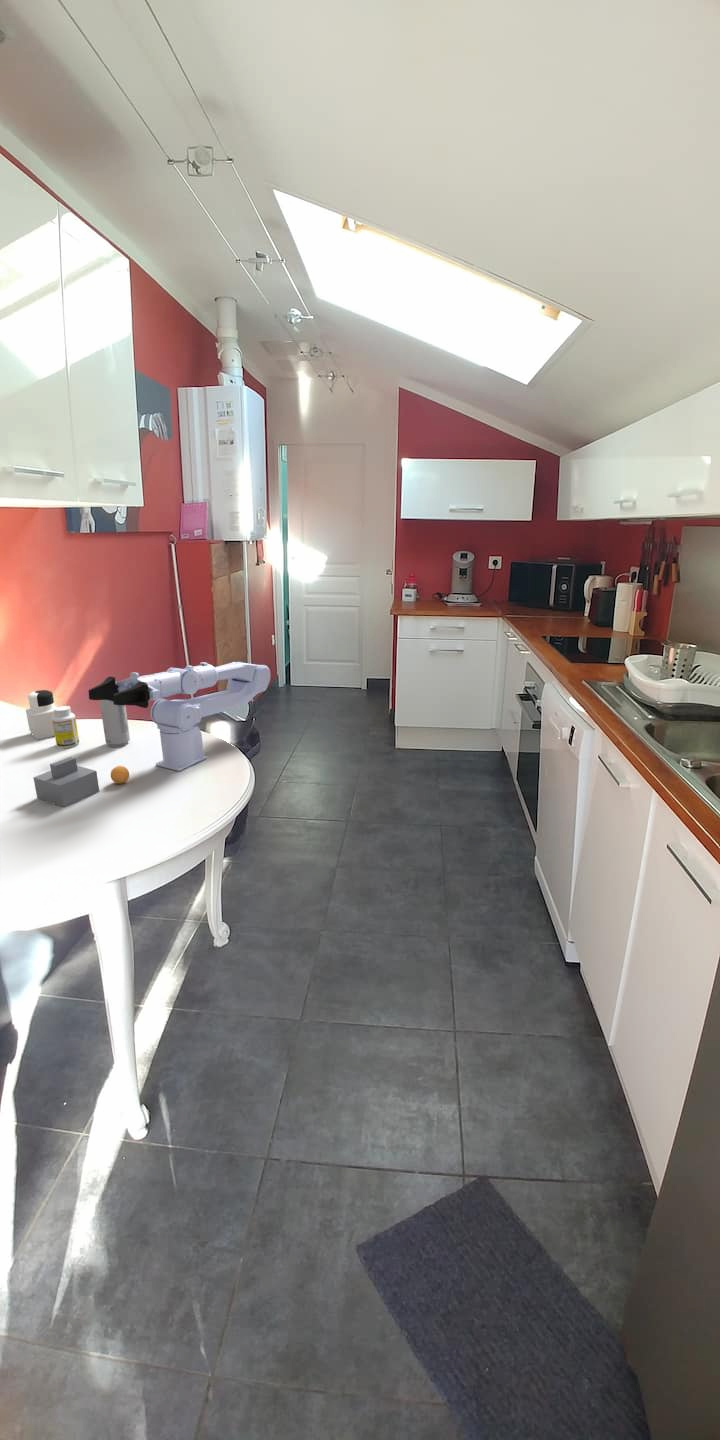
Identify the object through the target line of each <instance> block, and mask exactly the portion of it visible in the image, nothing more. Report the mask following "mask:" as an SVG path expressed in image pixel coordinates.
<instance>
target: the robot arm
mask: <svg viewBox="0 0 720 1440" xmlns="http://www.w3.org/2000/svg"><path fill="white" fill-rule="evenodd" d="M129 674H130V675H129V677H128V678H125V679H123V680H120V681H116V677H115V676H108V677H106V679H104V681H103V682H101V683H100V684H97V685H96V686H94V687H92V688H90V689H89V690H88V700H91V701H100V700H109V701H113V702H114V705H125V706H135V707H139V708H142V709H147V708H148V707H149V702H150V701H153V704H152V705H151V708H150V718H151V720H152V721H153V723H155V724H156V728H157V729H158V730H159V734H160V743H161V744H160V745H161V752H162V760H160V761H157V762H156V763H155V766H158V767H162V768H165V769H168V770H173V771H177V772H179V771H180V772H181V771H182V770H185V769H186V768H188V767H191V766H193V765H195V764H198V763H200V762H202V761H203V760H206V759H207V756H205V753H204V745H203V735H202V731H201V729H200V727H199V726H198V725H197V724H199V723H200V722H201V721H202V718H204V717H209V716H212V715H216V714H220V713H223V712H226V711H230V710H233V709H237V708H241V707H244V706H246V705H248V703H249V702H250V701H252V700H253V699H254V697H256V696H257V695H258V694H260V693H264V692H265V691H266V690H267V688H268V686H269V684H270V681H271V675H272V674H271V670H270V668H269V667H268V665H266V664H256V663H255V664H254V663H247V662H243V661H237V662H236V661H232V662H229V663H226V664H222V665H219V666H213V665H212V664H211V663H210V664H209V663H208V662H205V661H204V662H203V661H202V662H200V663H199V665H195V666H193V665H186V666H185V668H180V667H179V668H178V667H172V666H171V667H169V668H168V669H167V670H166V671H162V672H157V673H151V674H145V675H141V676H140V674H139V672H130V673H129ZM223 680H227V686H226V690H221V691H217V692H214V693H209V694H204V695H201V696H196V697H192V698H188V699H171V700H169V699H166V698H168V697H171V696H175V695H179V694H185V695H194V694H196V693H197V692H198V690H202V689H207V688H211V687H213V686H215V685H216V684H217V682H218V681H223Z"/></svg>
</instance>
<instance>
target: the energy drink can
mask: <svg viewBox="0 0 720 1440" xmlns="http://www.w3.org/2000/svg"><path fill="white" fill-rule="evenodd" d="M99 706H100V711H101V718H102V725H103V733H104V740H105V741H104V742H105V743H106V745H108V747H110V748H121V747H125V746H127V745H128V744H129V741H130V740H131V737H130V730H129V723H128V722H129V721H128V714H127V708H126V707H127V705H114V702H113V701H109V700H99Z"/></svg>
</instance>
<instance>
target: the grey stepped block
mask: <svg viewBox="0 0 720 1440" xmlns="http://www.w3.org/2000/svg"><path fill="white" fill-rule="evenodd" d="M49 765H50V766H49V767H50V770H49V771H47V772H44V773H41V774H38V775H36V776H34V777H33V782H34V789H35V793H36V794H35V795H36V798H37V799H38V800H41V801H45V802H47V801H48V802H47V803H49V804H53V803H54V804H53V805H55V806H60V807H62V808H65V807H68V806H71V805H72V804H75V803H76V802H79V801H81V800H84V799H86V798H88V797H90V796H92V795H94V794H97V793H99V792H100V786H99V778H98V774H97V773H98V772H97V770H94V769H91V768H87V767H84V766H80V765H78V764H77V758H76V757H73V756H67V757H66V758H62V759H60V760H58V761H55V762H53V763H50V764H49Z"/></svg>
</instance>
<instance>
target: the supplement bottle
mask: <svg viewBox="0 0 720 1440" xmlns="http://www.w3.org/2000/svg"><path fill="white" fill-rule="evenodd" d="M54 714H55V715H54V716H53V717H52V722H53V728H54V733H55V736H54V738H55V743H56V746H57V747H58V748H61V749H70V748H74V747H76V746H78V745H79V743H80V736H79V731H78V726H77V725H78V724H77V720H76V715H75V714H74V713H73V712H72V709H71V706H69V705H62V706H56V708H54Z"/></svg>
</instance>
